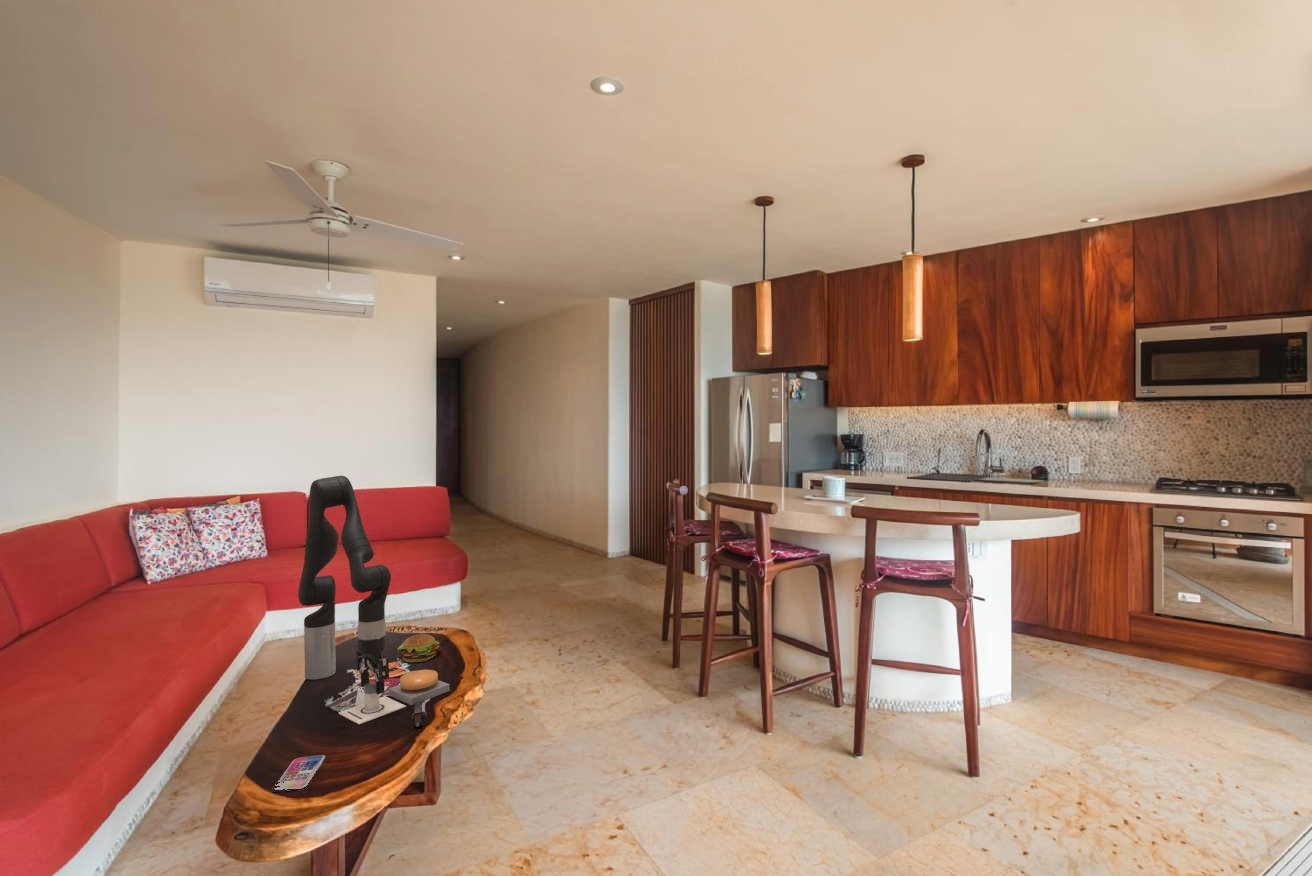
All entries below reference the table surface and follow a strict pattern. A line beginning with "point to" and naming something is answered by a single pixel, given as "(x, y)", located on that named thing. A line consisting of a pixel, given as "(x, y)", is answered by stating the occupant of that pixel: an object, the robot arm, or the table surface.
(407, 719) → the table surface
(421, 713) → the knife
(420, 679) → the button
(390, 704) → the paper
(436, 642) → the food
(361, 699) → the gaming console
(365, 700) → the beige capped tube
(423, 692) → the button base
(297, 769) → the smartphone
